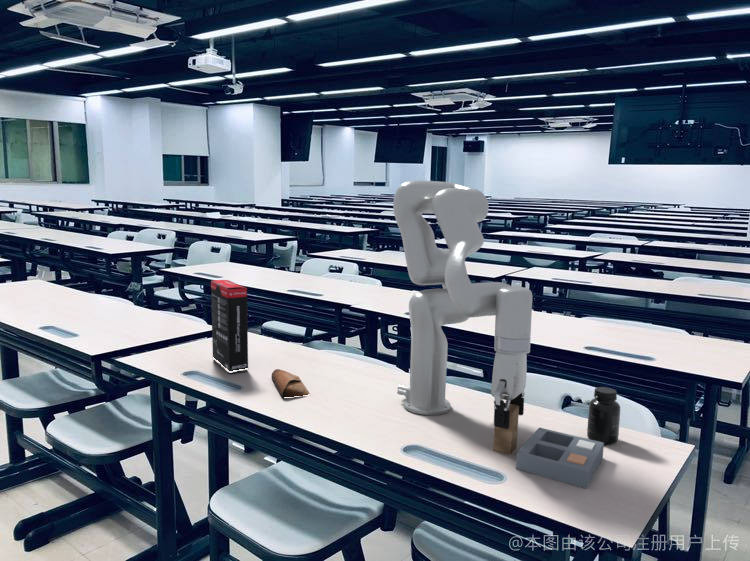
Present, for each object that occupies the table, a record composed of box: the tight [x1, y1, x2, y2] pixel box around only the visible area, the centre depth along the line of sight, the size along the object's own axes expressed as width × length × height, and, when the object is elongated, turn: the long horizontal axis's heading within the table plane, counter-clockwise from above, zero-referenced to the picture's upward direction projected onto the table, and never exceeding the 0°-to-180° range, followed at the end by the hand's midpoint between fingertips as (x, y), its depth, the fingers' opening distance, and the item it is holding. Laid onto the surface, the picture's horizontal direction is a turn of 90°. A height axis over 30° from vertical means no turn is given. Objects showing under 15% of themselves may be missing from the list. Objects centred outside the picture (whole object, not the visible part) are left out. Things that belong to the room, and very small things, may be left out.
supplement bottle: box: [586, 386, 621, 446], centre depth 129 cm, size 7×7×12 cm
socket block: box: [515, 427, 605, 489], centre depth 117 cm, size 14×16×4 cm
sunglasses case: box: [271, 368, 310, 399], centre depth 159 cm, size 18×7×7 cm, turn 21°
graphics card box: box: [210, 279, 249, 371], centre depth 176 cm, size 17×7×27 cm, turn 34°
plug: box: [492, 404, 520, 456], centre depth 122 cm, size 4×4×10 cm
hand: (508, 420), depth 121 cm, fingers open, 9 cm apart
